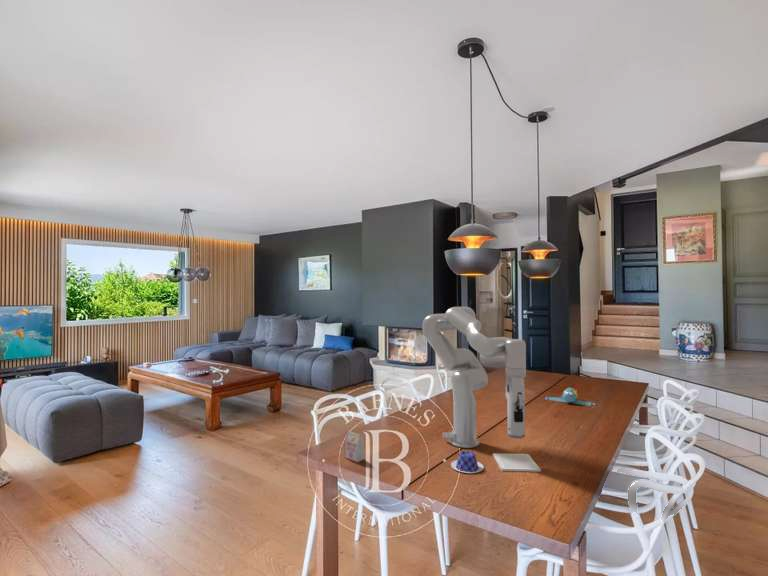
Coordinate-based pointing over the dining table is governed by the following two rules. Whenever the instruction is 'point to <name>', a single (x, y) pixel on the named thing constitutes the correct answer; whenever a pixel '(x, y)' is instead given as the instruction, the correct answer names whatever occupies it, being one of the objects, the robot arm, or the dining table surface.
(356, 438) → the small printed carton
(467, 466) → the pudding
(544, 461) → the dining table surface
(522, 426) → the travel mug
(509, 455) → the plate
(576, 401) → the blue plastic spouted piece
